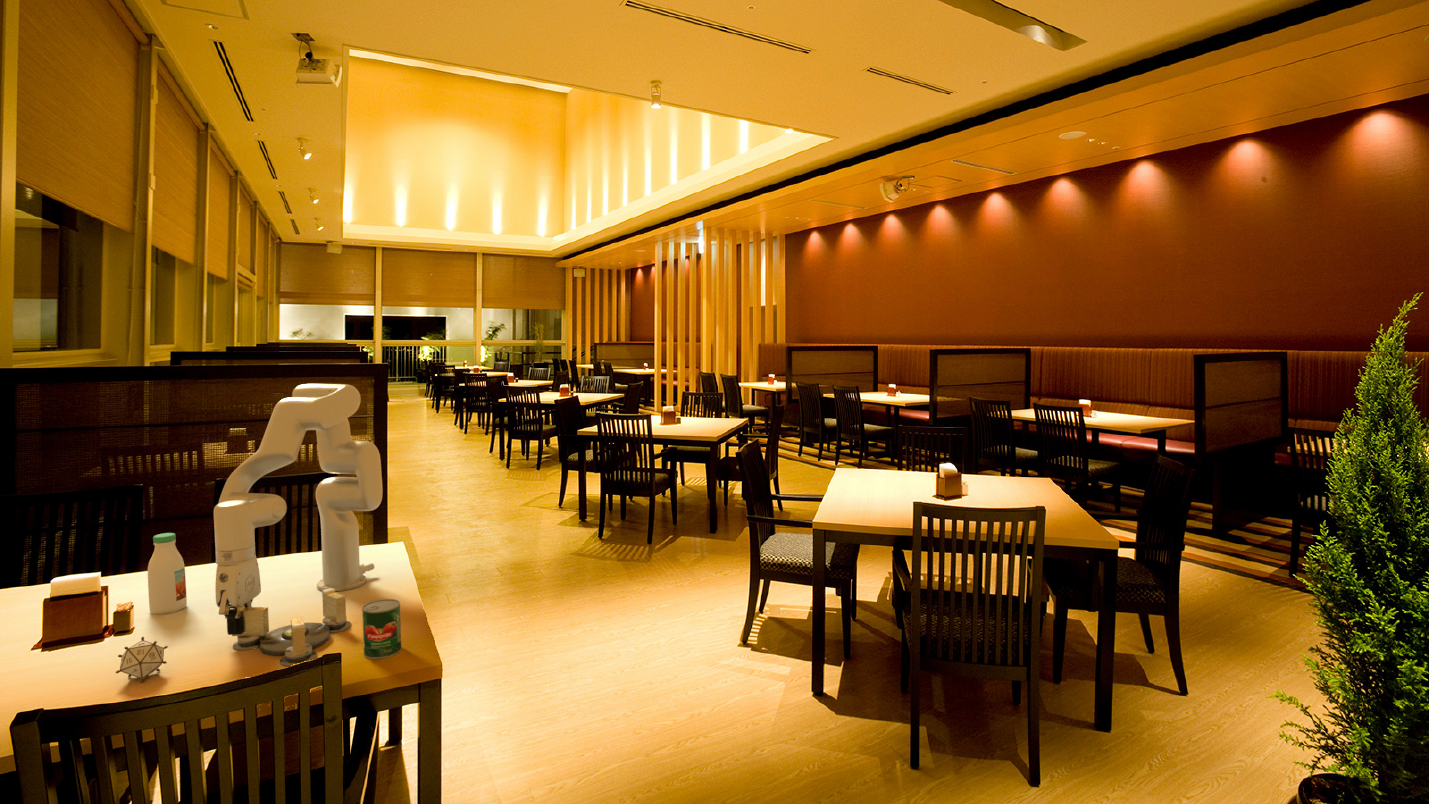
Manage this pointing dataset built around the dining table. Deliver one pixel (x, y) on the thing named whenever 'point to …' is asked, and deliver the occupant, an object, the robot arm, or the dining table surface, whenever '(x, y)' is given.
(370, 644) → the canned tomato
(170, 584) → the milk bottle
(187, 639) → the dining table surface
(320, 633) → the plate
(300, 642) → the knob
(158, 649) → the game die
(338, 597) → the knob near
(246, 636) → the knob
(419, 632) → the dining table surface
